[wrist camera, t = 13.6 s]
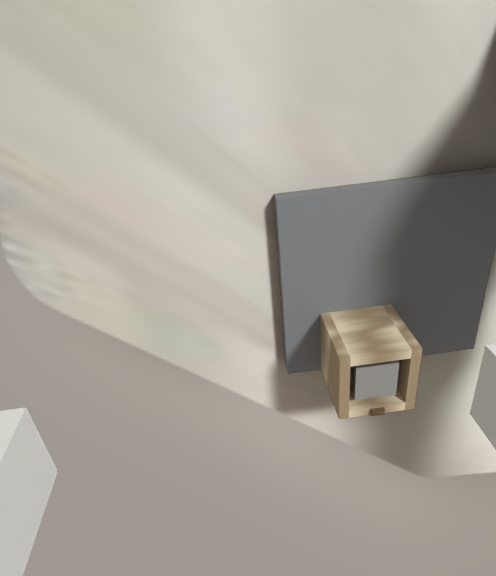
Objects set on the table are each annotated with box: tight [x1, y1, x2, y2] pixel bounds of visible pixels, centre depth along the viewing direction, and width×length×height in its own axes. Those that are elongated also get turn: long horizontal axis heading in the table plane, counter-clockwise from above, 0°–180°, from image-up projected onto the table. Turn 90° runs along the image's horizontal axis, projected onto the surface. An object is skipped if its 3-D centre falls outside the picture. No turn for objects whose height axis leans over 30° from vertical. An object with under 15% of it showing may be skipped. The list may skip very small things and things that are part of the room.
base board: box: [274, 167, 496, 374], centre depth 42 cm, size 20×19×2 cm
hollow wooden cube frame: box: [320, 304, 422, 419], centre depth 41 cm, size 7×7×7 cm
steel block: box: [350, 360, 399, 401], centre depth 42 cm, size 4×4×8 cm
